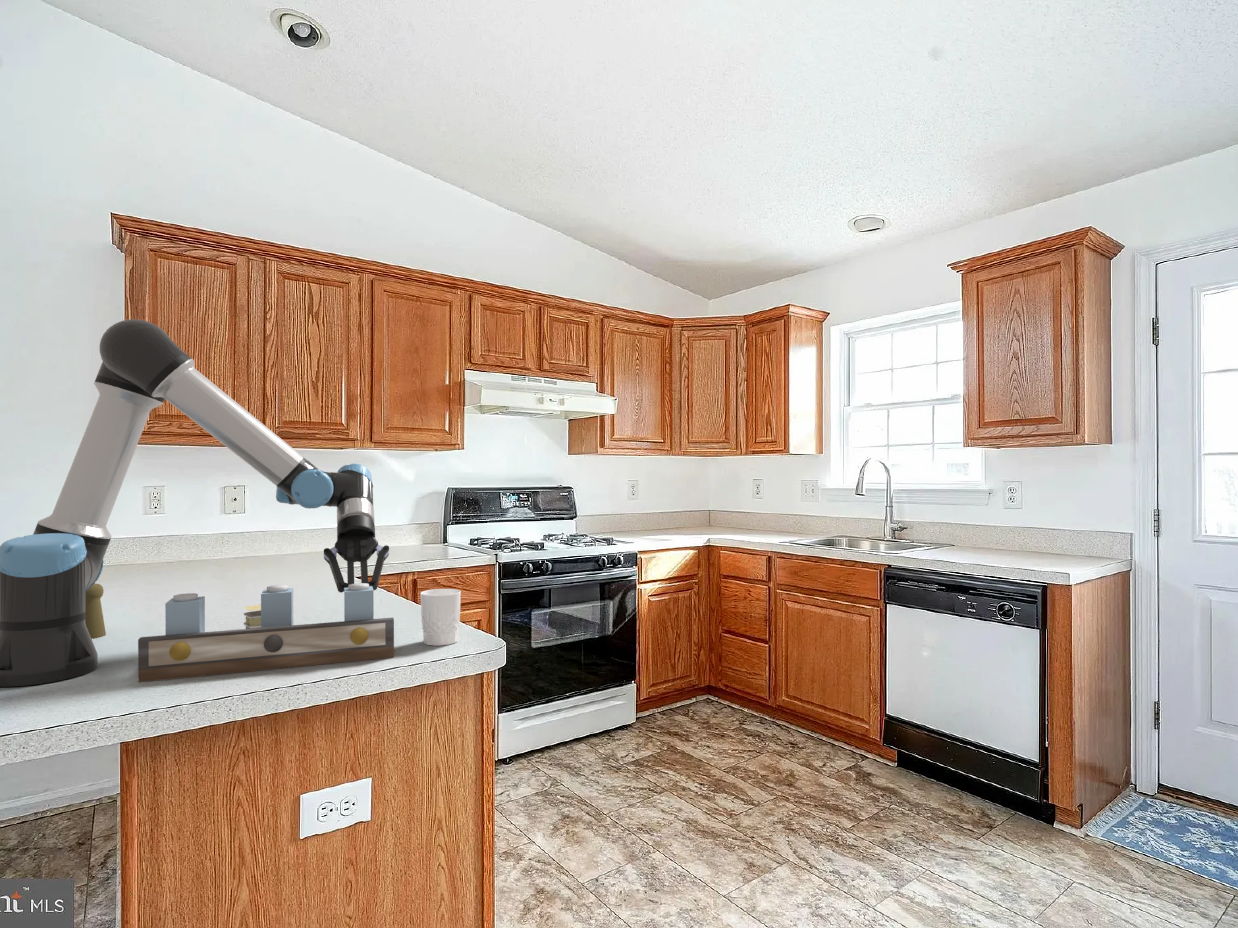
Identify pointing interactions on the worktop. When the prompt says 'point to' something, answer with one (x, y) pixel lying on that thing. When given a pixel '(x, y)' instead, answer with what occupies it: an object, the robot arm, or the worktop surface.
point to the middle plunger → (277, 606)
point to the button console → (263, 648)
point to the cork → (94, 611)
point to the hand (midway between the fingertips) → (358, 618)
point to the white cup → (440, 616)
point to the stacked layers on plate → (253, 617)
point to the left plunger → (185, 614)
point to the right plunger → (358, 602)
